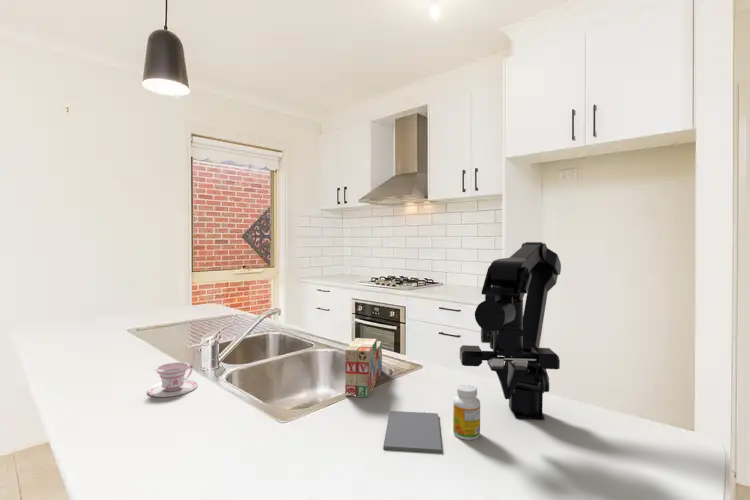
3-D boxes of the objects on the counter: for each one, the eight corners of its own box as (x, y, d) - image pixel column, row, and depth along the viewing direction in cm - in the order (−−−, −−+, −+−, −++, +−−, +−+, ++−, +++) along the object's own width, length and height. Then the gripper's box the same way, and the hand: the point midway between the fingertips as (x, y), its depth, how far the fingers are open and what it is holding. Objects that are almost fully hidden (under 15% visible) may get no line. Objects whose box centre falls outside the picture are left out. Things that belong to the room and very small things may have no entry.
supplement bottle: (450, 428, 86) (450, 383, 86) (474, 427, 86) (475, 382, 86) (457, 441, 80) (457, 393, 80) (483, 440, 81) (484, 392, 81)
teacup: (153, 402, 99) (153, 377, 99) (142, 388, 108) (142, 365, 108) (203, 390, 107) (203, 367, 107) (189, 378, 116) (189, 357, 116)
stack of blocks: (362, 370, 124) (362, 330, 124) (382, 371, 123) (382, 331, 123) (344, 396, 103) (345, 348, 103) (369, 398, 102) (369, 350, 102)
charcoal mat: (437, 415, 92) (437, 413, 92) (441, 452, 76) (441, 449, 76) (389, 413, 93) (389, 410, 93) (383, 449, 77) (383, 445, 77)
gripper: (543, 315, 89) (542, 386, 89) (457, 314, 91) (456, 382, 91) (561, 327, 78) (559, 407, 78) (462, 324, 80) (461, 402, 80)
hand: (506, 398), depth 82 cm, fingers closed
